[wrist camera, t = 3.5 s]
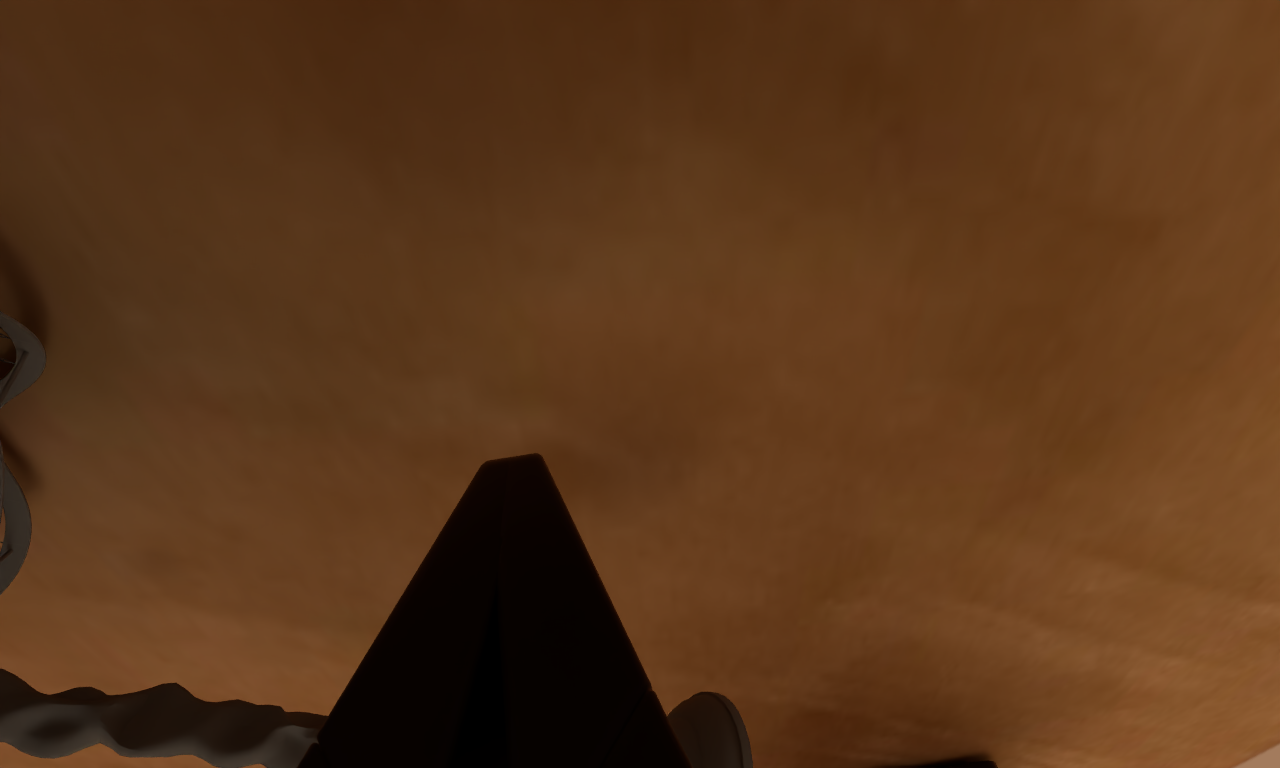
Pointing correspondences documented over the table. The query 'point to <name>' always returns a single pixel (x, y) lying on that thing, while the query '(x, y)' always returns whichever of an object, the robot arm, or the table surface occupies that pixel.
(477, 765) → the robot arm
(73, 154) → the table surface
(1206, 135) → the table surface
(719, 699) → the massage brush
